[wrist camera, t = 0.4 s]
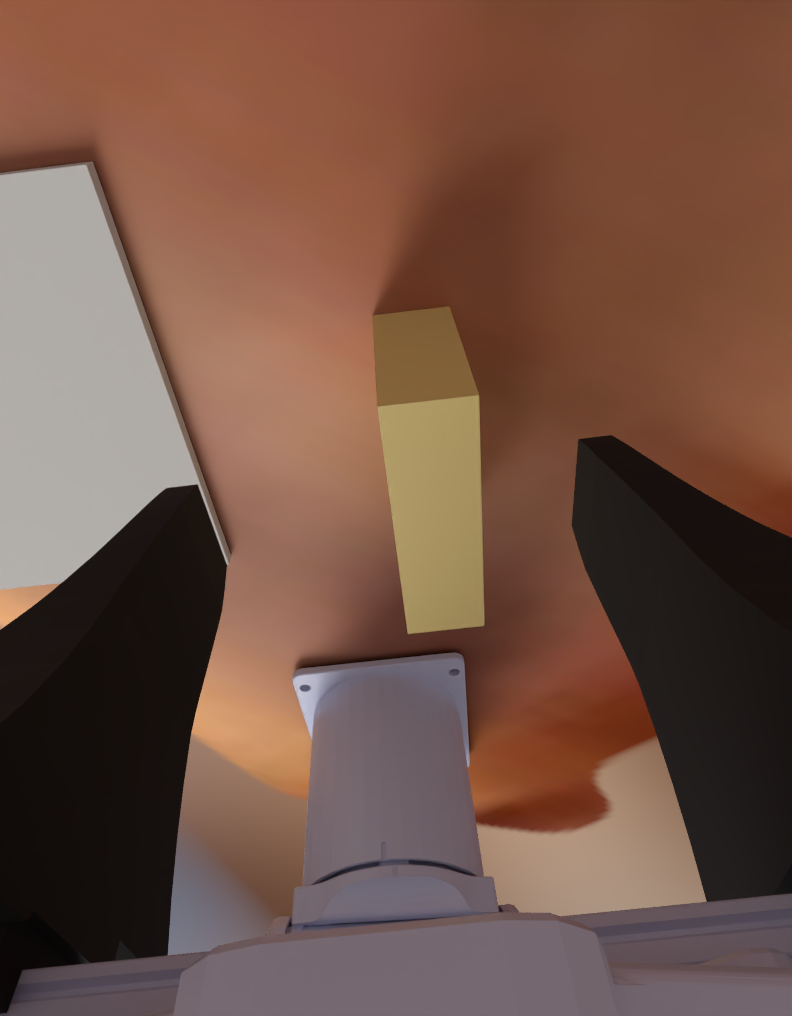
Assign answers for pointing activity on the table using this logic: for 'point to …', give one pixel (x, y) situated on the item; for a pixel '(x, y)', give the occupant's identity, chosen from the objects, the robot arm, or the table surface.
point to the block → (431, 466)
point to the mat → (76, 382)
